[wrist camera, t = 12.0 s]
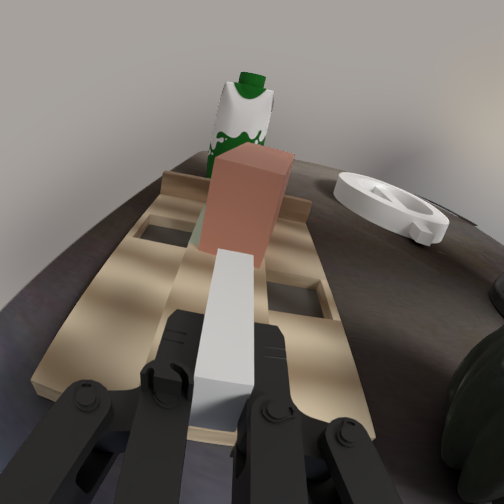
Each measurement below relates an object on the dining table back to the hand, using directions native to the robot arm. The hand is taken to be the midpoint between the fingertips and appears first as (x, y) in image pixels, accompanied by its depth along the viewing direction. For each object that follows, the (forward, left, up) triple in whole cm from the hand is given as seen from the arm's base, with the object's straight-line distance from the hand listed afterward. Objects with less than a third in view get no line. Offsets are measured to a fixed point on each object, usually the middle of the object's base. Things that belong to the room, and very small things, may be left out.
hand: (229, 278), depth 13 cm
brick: (-17, -11, -7) cm, 22 cm away
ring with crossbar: (-62, -4, -9) cm, 63 cm away
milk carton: (-32, -27, -9) cm, 42 cm away
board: (-10, -8, -9) cm, 15 cm away
